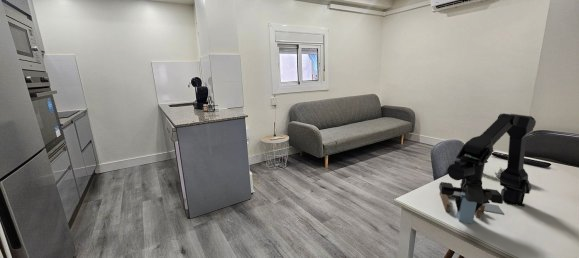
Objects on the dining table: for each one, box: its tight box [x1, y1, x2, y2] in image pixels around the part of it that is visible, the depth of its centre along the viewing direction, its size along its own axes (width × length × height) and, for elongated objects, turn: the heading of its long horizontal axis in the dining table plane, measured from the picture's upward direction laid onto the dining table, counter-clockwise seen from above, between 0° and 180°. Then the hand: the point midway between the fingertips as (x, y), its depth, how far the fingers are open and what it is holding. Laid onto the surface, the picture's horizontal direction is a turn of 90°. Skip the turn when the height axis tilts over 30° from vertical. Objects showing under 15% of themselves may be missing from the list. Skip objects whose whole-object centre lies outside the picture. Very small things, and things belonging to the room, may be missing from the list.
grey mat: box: [484, 203, 505, 215], centre depth 99 cm, size 6×6×1 cm
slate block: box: [455, 193, 477, 225], centre depth 91 cm, size 4×4×10 cm
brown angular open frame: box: [439, 191, 485, 219], centre depth 101 cm, size 14×16×4 cm
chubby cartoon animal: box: [494, 167, 526, 179], centre depth 124 cm, size 7×12×8 cm, turn 45°
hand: (465, 212), depth 92 cm, fingers closed on slate block, 4 cm apart
